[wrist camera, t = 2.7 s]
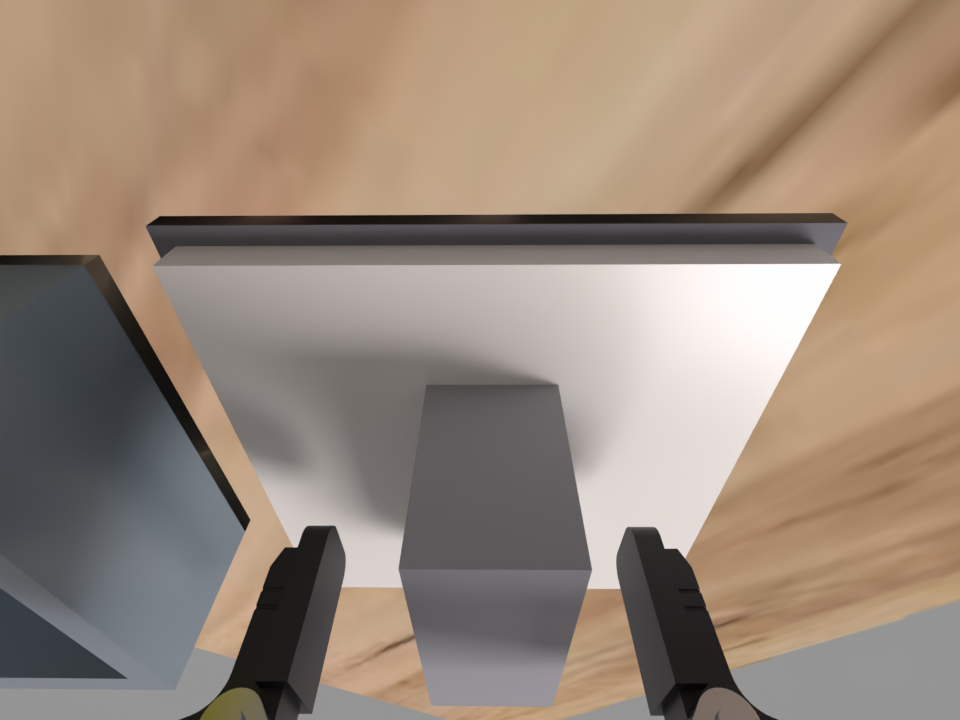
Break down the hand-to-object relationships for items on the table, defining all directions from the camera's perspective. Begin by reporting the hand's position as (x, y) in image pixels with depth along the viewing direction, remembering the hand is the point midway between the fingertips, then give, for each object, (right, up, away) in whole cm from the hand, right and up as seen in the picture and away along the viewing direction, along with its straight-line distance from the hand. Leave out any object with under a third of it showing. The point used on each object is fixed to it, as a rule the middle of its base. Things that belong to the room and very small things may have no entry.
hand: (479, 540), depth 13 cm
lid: (0, +2, +3) cm, 3 cm away
